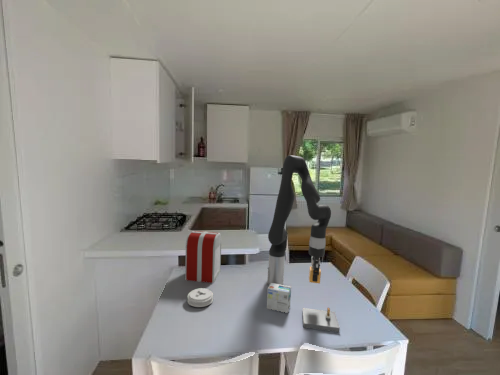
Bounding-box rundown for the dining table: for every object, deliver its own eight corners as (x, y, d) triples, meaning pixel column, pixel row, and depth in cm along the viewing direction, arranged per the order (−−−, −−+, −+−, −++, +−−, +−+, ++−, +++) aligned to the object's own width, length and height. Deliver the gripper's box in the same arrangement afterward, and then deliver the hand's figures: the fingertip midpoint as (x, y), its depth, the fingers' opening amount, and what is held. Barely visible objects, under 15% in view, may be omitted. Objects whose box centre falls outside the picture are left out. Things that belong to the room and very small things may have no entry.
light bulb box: (290, 306, 129) (291, 285, 128) (287, 314, 123) (289, 292, 122) (269, 302, 133) (270, 281, 132) (266, 309, 126) (267, 287, 125)
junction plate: (303, 327, 113) (303, 323, 113) (302, 311, 125) (302, 307, 125) (339, 332, 111) (339, 327, 111) (334, 315, 123) (334, 311, 123)
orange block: (309, 282, 127) (310, 270, 126) (308, 277, 132) (309, 266, 131) (319, 283, 126) (320, 271, 125) (318, 278, 131) (319, 267, 130)
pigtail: (325, 319, 116) (326, 309, 116) (325, 316, 119) (325, 307, 118) (330, 320, 116) (331, 310, 116) (330, 317, 118) (330, 307, 118)
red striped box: (194, 268, 169) (195, 228, 166) (220, 271, 166) (222, 230, 164) (184, 280, 153) (185, 235, 150) (213, 283, 150) (214, 237, 147)
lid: (199, 292, 139) (199, 283, 139) (218, 299, 133) (218, 290, 133) (182, 303, 128) (182, 294, 128) (201, 311, 122) (202, 301, 122)
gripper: (308, 240, 134) (305, 271, 136) (310, 249, 120) (307, 284, 122) (323, 241, 133) (320, 273, 135) (326, 251, 119) (323, 286, 121)
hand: (314, 278), depth 129 cm, fingers closed on orange block, 5 cm apart
